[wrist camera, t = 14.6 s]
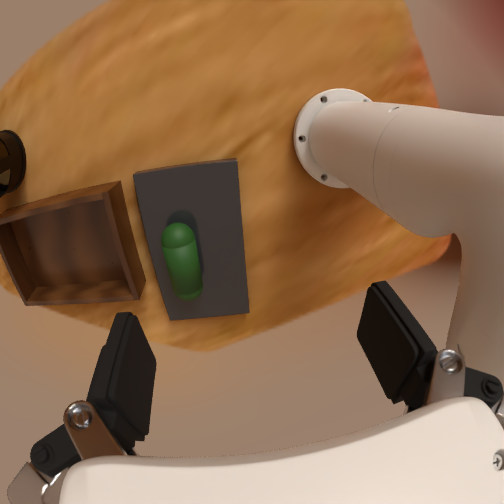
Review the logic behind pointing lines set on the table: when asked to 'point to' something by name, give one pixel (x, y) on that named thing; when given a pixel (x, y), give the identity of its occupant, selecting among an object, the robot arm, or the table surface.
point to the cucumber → (182, 261)
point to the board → (198, 232)
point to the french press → (12, 161)
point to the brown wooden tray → (73, 248)
